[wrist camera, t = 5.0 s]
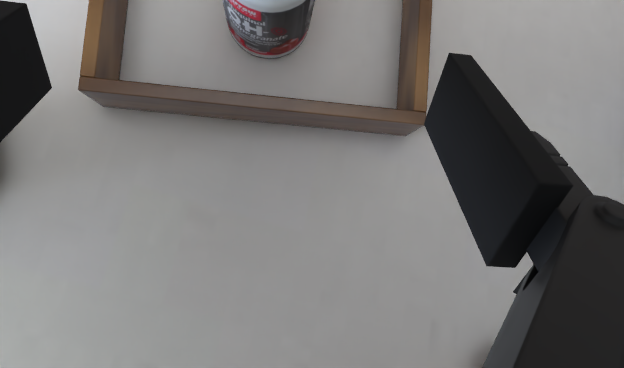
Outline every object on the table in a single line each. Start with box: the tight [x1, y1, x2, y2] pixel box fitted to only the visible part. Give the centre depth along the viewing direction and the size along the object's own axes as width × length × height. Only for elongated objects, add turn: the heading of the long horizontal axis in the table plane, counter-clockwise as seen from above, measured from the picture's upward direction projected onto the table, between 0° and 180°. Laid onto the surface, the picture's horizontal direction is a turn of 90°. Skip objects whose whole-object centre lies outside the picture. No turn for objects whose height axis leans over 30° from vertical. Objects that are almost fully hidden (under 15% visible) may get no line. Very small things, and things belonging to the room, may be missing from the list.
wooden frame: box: [78, 0, 432, 136], centre depth 26 cm, size 14×20×4 cm
